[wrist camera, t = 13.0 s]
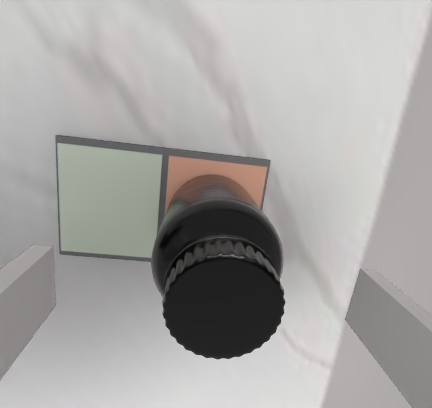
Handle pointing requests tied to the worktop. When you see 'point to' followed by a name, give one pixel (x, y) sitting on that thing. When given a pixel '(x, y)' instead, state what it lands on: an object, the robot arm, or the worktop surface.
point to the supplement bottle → (218, 269)
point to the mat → (132, 192)
